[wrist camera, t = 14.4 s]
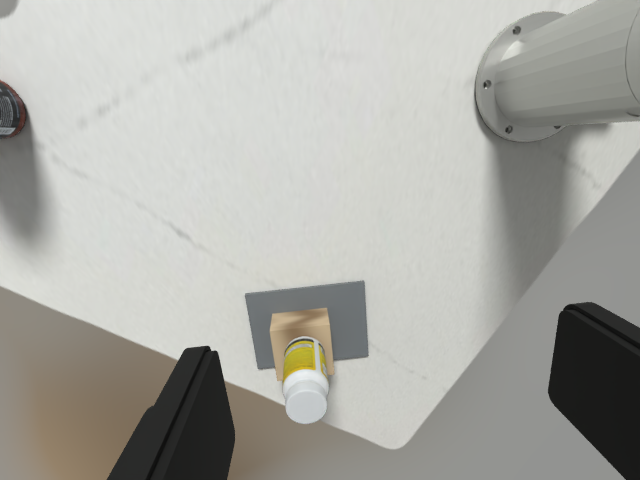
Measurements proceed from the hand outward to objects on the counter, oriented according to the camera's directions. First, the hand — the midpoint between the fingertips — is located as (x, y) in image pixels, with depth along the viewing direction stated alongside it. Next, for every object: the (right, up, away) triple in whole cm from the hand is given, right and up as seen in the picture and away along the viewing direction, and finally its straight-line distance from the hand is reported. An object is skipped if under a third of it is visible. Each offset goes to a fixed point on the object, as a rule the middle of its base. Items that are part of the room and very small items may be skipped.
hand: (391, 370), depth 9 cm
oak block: (-4, -9, +34) cm, 35 cm away
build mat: (-3, -8, +34) cm, 35 cm away
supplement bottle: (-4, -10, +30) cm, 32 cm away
